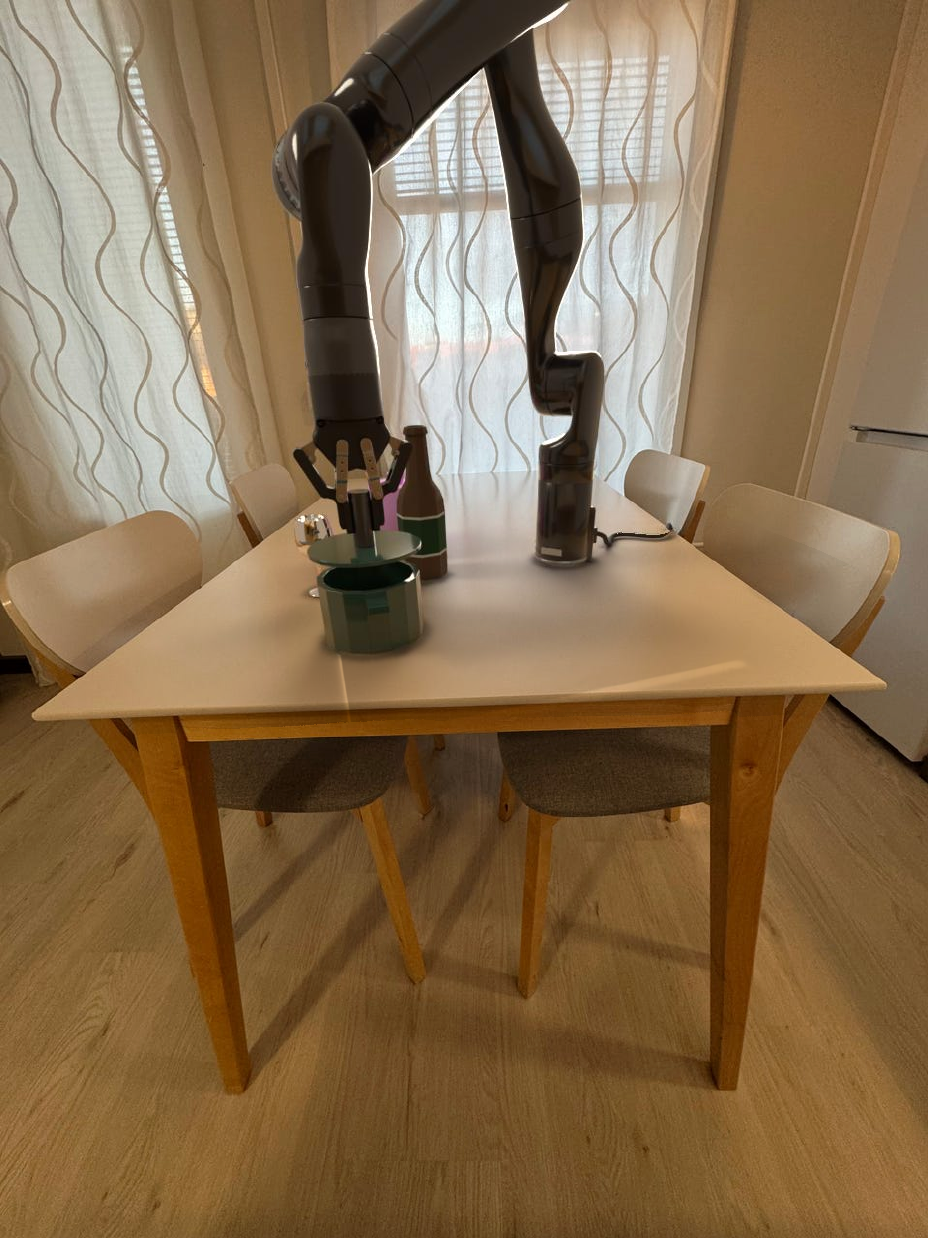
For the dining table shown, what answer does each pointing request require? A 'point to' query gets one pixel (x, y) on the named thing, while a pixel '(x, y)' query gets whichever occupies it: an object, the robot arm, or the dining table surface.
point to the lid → (363, 540)
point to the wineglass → (311, 535)
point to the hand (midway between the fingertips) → (363, 530)
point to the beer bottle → (422, 508)
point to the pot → (371, 607)
